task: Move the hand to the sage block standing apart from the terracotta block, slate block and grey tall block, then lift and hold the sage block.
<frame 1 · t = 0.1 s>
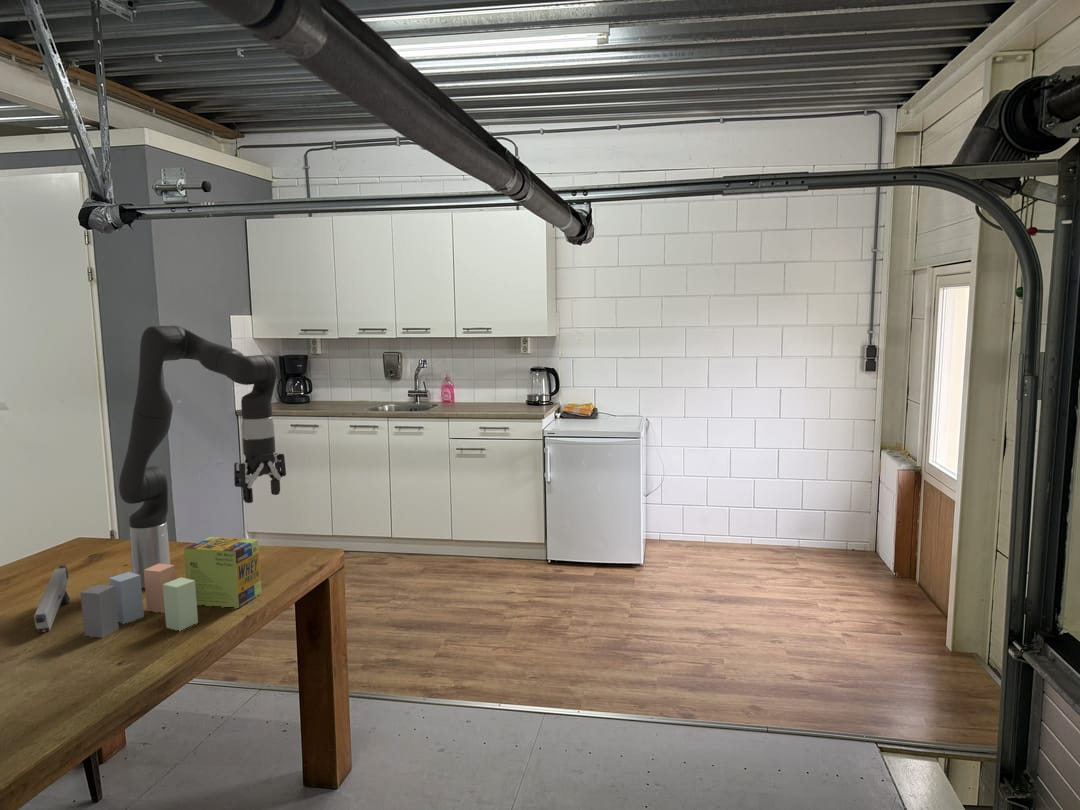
hand: (262, 498, 181), 29 cm above the table, tool pointing down, fingers open, 8 cm apart
grey tall block: (102, 632, 171), on the table
sage block: (182, 625, 175), on the table
slate block: (128, 618, 179), on the table
protein box: (225, 600, 191), on the table
terracotta block: (162, 608, 186), on the table
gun: (55, 617, 181), on the table
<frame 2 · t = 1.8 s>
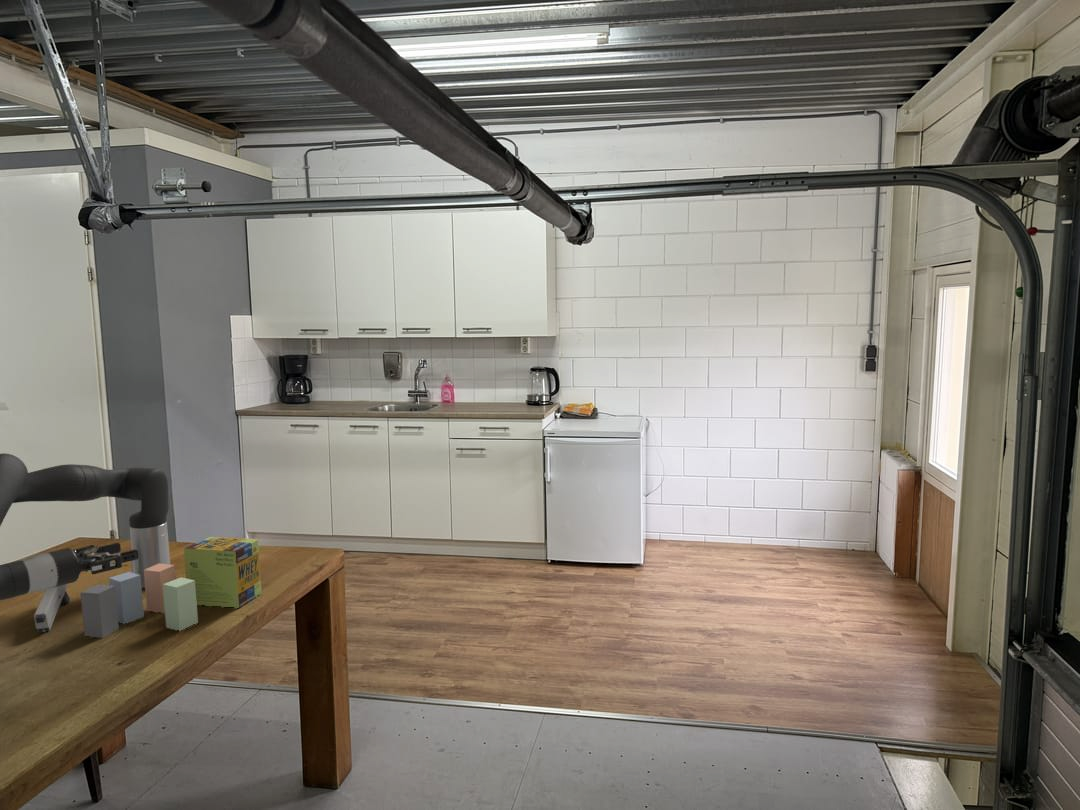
hand: (128, 550, 164), 22 cm above the table, tool horizontal, fingers open, 8 cm apart
nothing on the table moved.
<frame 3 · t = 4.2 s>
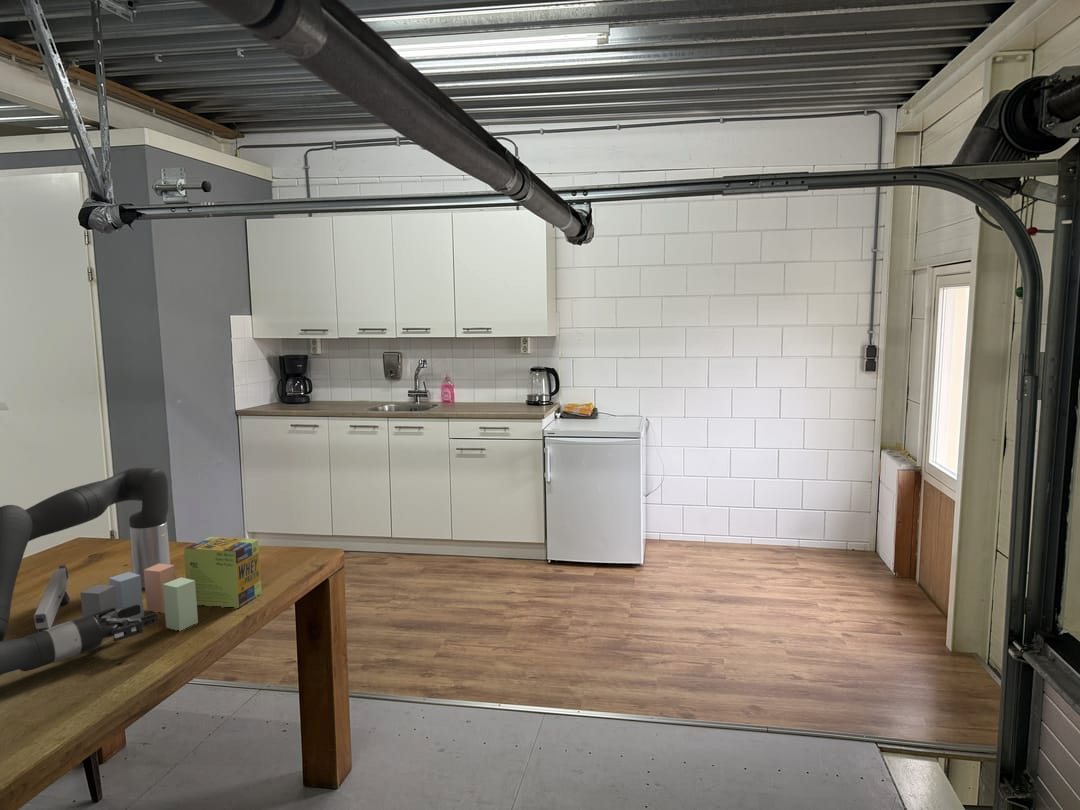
hand: (148, 612, 168), 6 cm above the table, tool horizontal, fingers open, 8 cm apart
nothing on the table moved.
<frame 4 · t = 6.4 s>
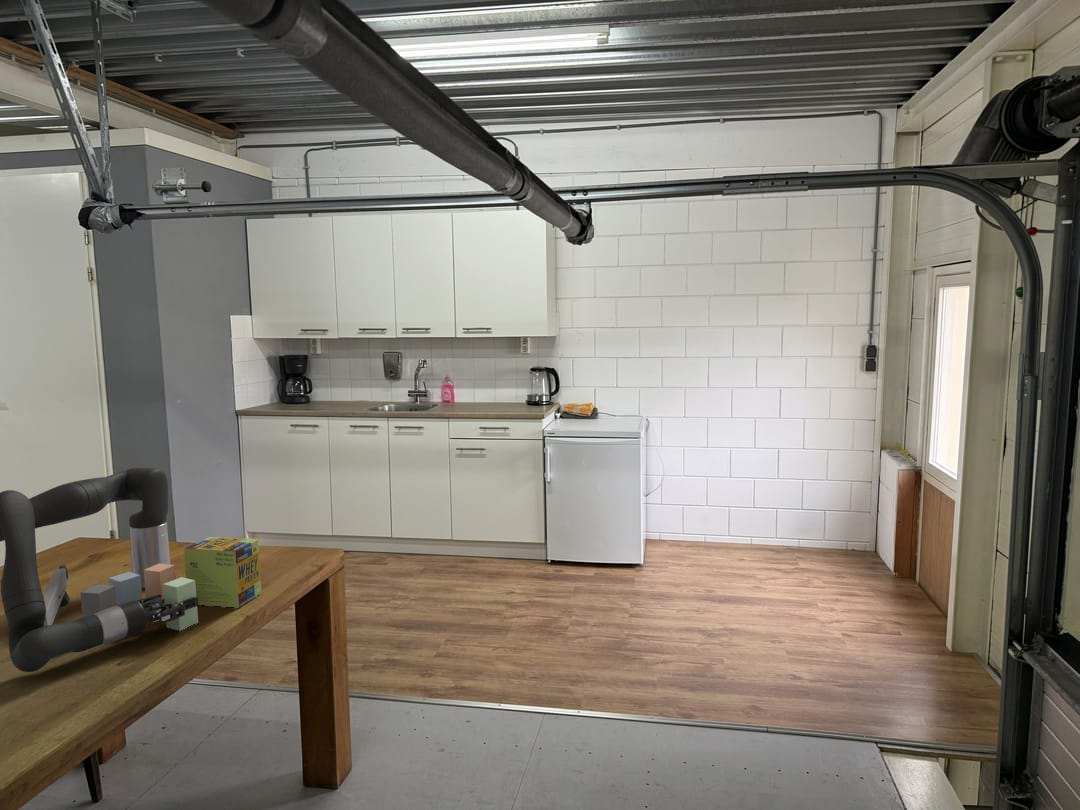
hand: (190, 598, 176), 6 cm above the table, tool horizontal, fingers closed on sage block, 5 cm apart
sage block: (182, 625, 175), on the table, touching gripper
everything else where it was.
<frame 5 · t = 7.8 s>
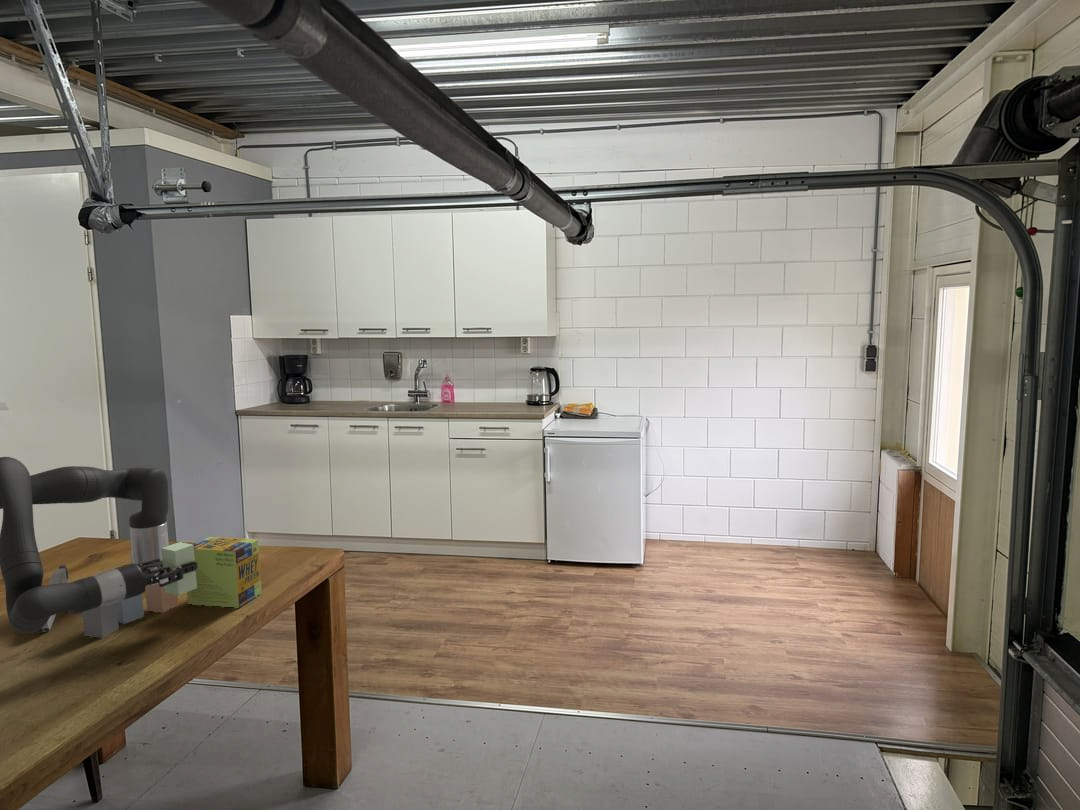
hand: (188, 562, 175), 15 cm above the table, tool horizontal, fingers closed on sage block, 5 cm apart
sage block: (181, 589, 174), point 9 cm above the table, touching gripper
everything else where it was.
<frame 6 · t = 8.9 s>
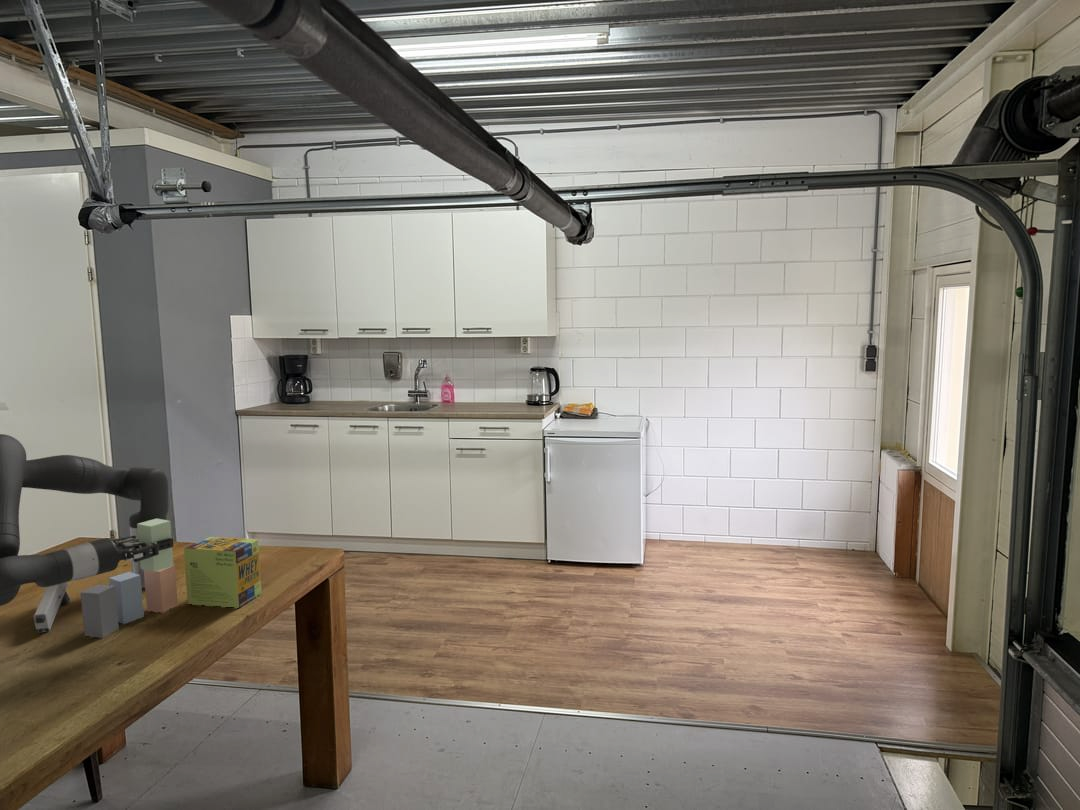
hand: (165, 539, 172), 22 cm above the table, tool horizontal, fingers closed on sage block, 5 cm apart
sage block: (157, 567, 170), point 16 cm above the table, touching gripper
everything else where it was.
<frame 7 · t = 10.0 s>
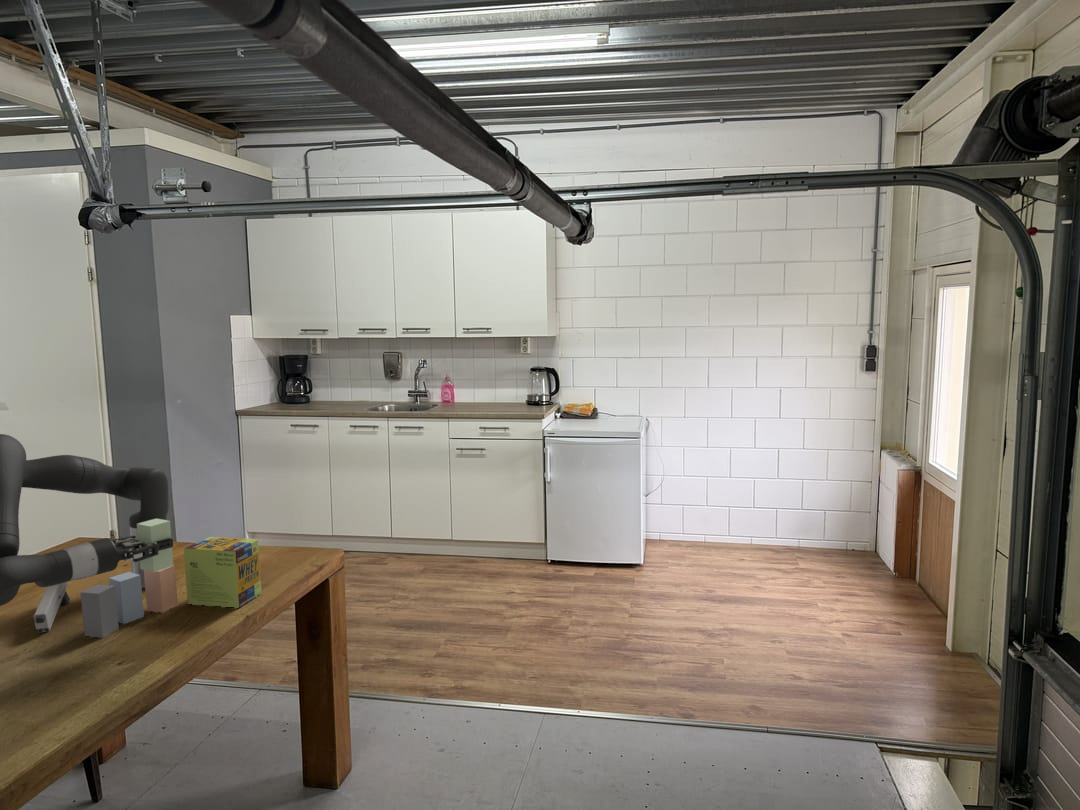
hand: (165, 539, 172), 22 cm above the table, tool horizontal, fingers closed on sage block, 5 cm apart
sage block: (156, 567, 170), point 16 cm above the table, touching gripper
everything else where it was.
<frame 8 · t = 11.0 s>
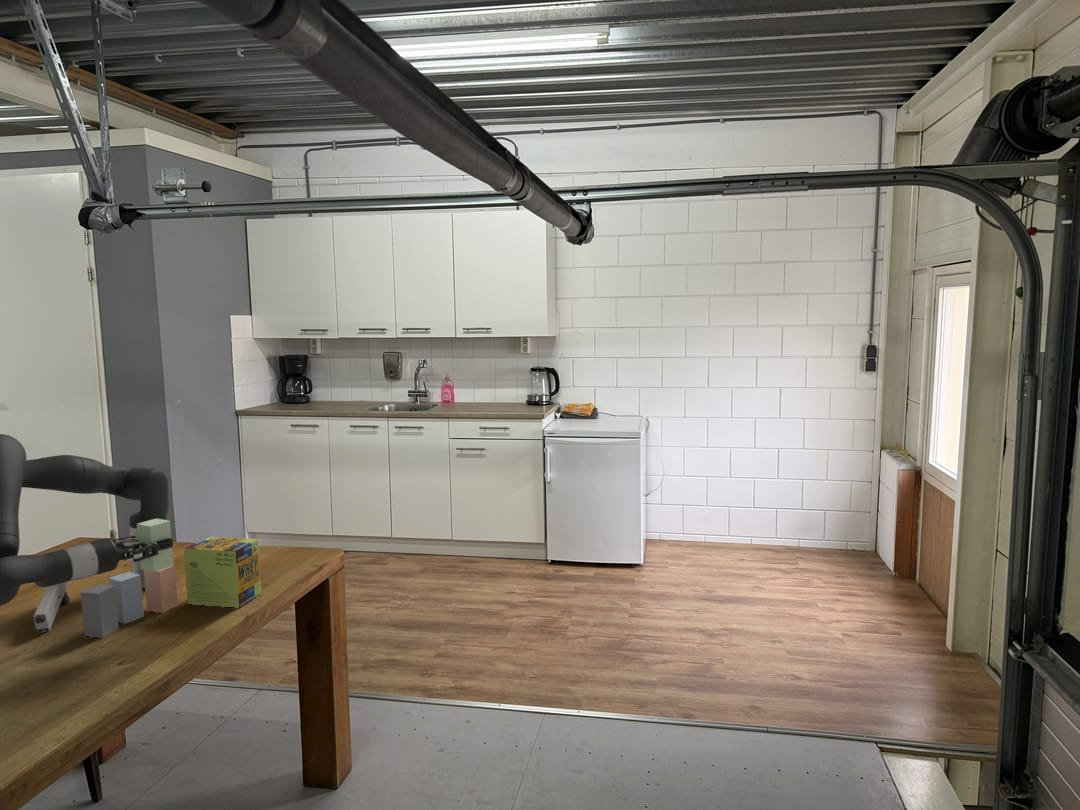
hand: (165, 539, 172), 22 cm above the table, tool horizontal, fingers closed on sage block, 5 cm apart
sage block: (156, 567, 170), point 16 cm above the table, touching gripper
everything else where it was.
at the end: the gripper is holding sage block; sage block point 15.8 cm above the table; grey tall block moved 0.0 cm from its start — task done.
